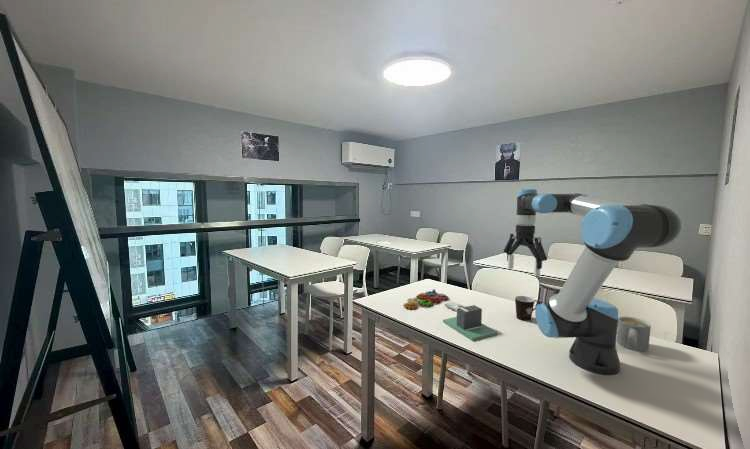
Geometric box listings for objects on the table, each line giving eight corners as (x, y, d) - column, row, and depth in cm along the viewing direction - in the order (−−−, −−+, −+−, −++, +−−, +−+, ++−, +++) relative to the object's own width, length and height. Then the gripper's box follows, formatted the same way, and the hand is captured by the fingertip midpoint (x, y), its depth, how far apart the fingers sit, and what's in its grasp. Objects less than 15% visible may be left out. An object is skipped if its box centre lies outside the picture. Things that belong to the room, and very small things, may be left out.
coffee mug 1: (516, 321, 145) (517, 301, 144) (512, 314, 154) (513, 295, 153) (542, 323, 143) (543, 303, 142) (537, 316, 151) (538, 297, 150)
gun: (441, 303, 160) (450, 298, 167) (440, 309, 160) (449, 304, 167) (474, 314, 148) (482, 308, 155) (473, 321, 148) (481, 315, 155)
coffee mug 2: (621, 336, 129) (623, 314, 128) (651, 346, 121) (654, 322, 120) (609, 345, 122) (611, 322, 121) (640, 357, 114) (643, 331, 113)
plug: (481, 325, 138) (481, 308, 137) (464, 329, 134) (464, 312, 133) (473, 321, 142) (474, 304, 142) (456, 325, 138) (457, 308, 138)
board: (497, 334, 132) (497, 322, 132) (472, 340, 126) (472, 329, 126) (465, 317, 150) (466, 307, 150) (442, 322, 145) (443, 311, 144)
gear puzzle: (415, 314, 156) (415, 306, 155) (393, 305, 168) (393, 298, 167) (451, 299, 176) (451, 293, 175) (429, 292, 188) (429, 286, 187)
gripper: (558, 227, 121) (555, 278, 124) (508, 221, 144) (506, 265, 146) (546, 228, 118) (543, 280, 121) (496, 222, 141) (495, 266, 143)
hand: (523, 272), depth 134 cm, fingers open, 13 cm apart
